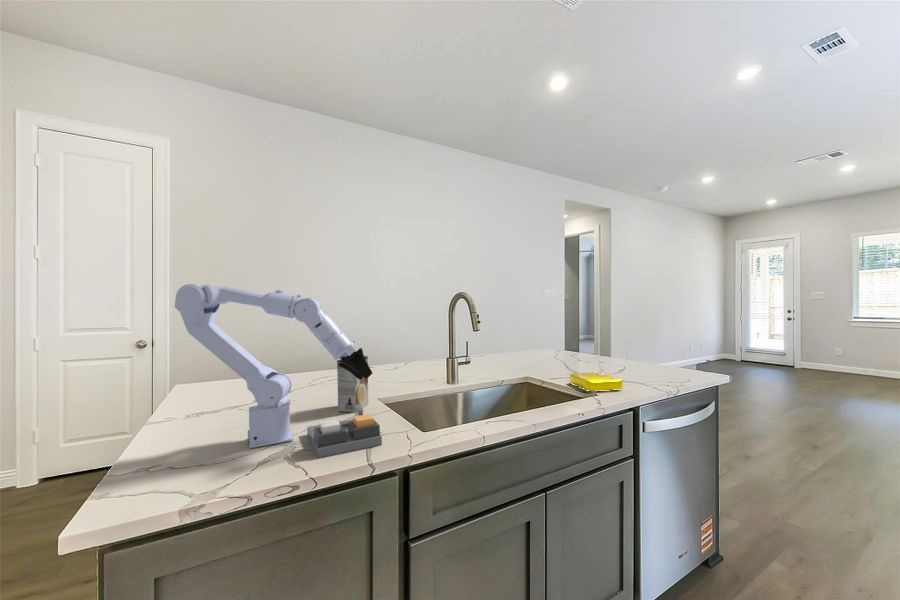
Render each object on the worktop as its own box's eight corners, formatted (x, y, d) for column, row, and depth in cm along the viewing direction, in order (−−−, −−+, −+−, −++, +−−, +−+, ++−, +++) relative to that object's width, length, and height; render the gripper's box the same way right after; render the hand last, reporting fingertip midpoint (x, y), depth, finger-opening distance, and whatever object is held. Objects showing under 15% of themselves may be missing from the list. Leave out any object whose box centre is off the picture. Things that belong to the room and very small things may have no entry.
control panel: (318, 458, 82) (318, 437, 82) (307, 434, 96) (307, 417, 96) (381, 444, 89) (381, 426, 89) (363, 424, 103) (362, 408, 103)
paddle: (358, 424, 97) (358, 409, 97) (354, 419, 100) (354, 405, 100) (363, 423, 97) (362, 408, 97) (358, 419, 101) (358, 404, 101)
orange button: (357, 429, 88) (357, 421, 88) (353, 424, 92) (353, 416, 92) (373, 426, 90) (373, 418, 90) (369, 421, 94) (368, 413, 94)
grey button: (322, 435, 85) (322, 427, 85) (319, 430, 88) (319, 422, 88) (340, 432, 86) (340, 424, 86) (336, 427, 90) (336, 419, 90)
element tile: (568, 384, 151) (568, 372, 151) (601, 382, 153) (601, 370, 153) (588, 393, 136) (588, 380, 136) (625, 391, 139) (625, 378, 139)
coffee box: (350, 403, 124) (350, 355, 124) (368, 404, 123) (368, 355, 123) (337, 411, 115) (336, 360, 115) (356, 412, 114) (355, 360, 114)
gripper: (348, 322, 91) (384, 364, 92) (339, 330, 103) (371, 367, 105) (325, 341, 87) (362, 384, 89) (318, 347, 100) (352, 385, 102)
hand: (366, 376), depth 97 cm, fingers open, 7 cm apart
